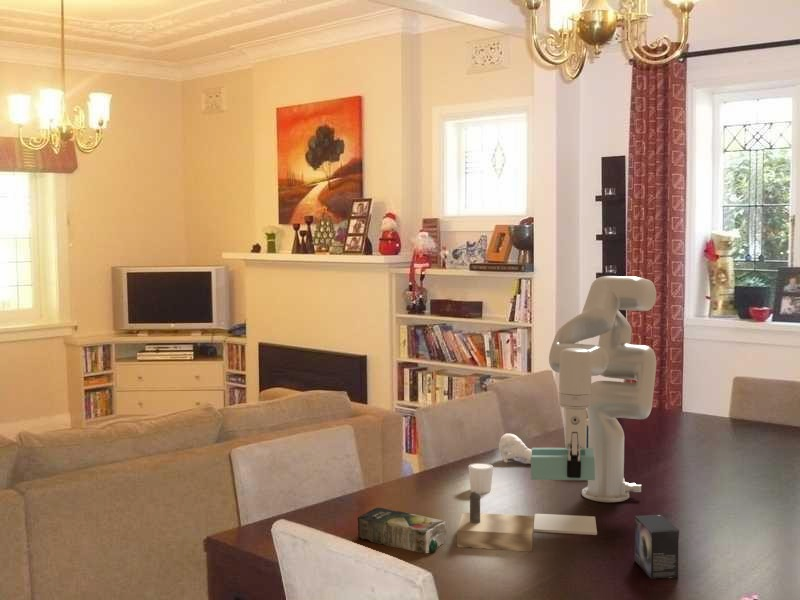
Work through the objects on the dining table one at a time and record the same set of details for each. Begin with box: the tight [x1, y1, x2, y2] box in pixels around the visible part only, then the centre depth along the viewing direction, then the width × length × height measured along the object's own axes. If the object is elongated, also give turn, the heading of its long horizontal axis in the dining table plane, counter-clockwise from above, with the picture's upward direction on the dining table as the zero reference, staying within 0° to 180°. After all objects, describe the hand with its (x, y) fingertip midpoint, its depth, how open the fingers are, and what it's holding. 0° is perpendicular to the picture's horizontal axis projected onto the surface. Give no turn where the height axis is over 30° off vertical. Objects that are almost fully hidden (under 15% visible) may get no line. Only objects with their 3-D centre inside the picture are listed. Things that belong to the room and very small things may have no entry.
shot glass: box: [467, 462, 494, 494], centre depth 253 cm, size 7×7×7 cm
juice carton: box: [357, 507, 447, 554], centre depth 213 cm, size 20×10×6 cm, turn 59°
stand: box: [456, 491, 535, 552], centre depth 214 cm, size 17×13×11 cm
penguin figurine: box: [498, 433, 532, 465], centre depth 283 cm, size 6×8×12 cm
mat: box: [533, 513, 598, 536], centre depth 224 cm, size 15×12×1 cm
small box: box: [634, 514, 680, 580], centre depth 195 cm, size 11×6×10 cm, turn 5°
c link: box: [530, 447, 595, 481], centre depth 223 cm, size 15×10×6 cm, turn 80°
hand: (573, 475), depth 218 cm, fingers closed on c link
